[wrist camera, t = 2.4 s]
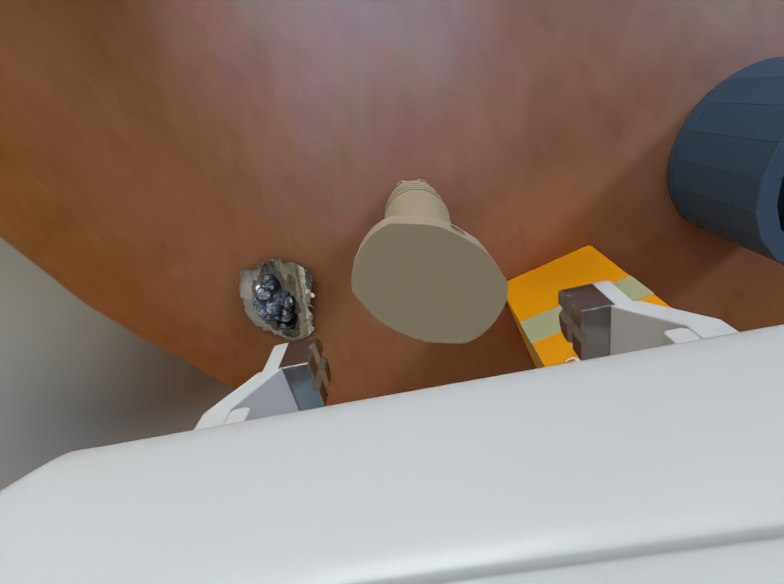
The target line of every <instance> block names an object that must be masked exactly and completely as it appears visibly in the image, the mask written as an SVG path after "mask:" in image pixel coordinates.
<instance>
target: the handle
mask: <svg viewBox="0 0 784 584" xmlns="http://www.w3.org/2000/svg"><path fill="white" fill-rule="evenodd" d="M351 284H352V290H353V293H354V294H355V296H356V297H357V298H358V299H359V300H360V301H361V302H362V304H363V305H364V306H365V307H366V308H367V309H368V310H369V311H370V312H371V314H372V315H373V316H374V317H376V318H377V319H378V320H379V321H380V322H381V323H383V324H385V325H386V326H388V327H390V328H392V329H394V330H396V331H399V332H401V333H403V334H405V335H408V336H410V337H412V338H415V339H418V340H421V341H426V342H433V343H467V342H469V341H472V340H474V339H475V338H477V337H479V336H480V335H482V334H483V333H484V332H485V331H486V330H488V329H489V328H490V326H491V325H492V324H493V323H494V322H495V321H496V319H497V318H498V316H499V315H500V313H501V311H502V310H503V307H504V305H505V303H506V300H507V294H508V282H507V280H506V279H505V277H504V276H503V274H502V272H501V271H500V269H499V268H498V266H497V265H496V263H495V262H494V261H493V259H492V258H491V256H490V255H489V254H488V252H487V251H486V249H485V248H484V247H483V246H482V245H481V243H480V242H479V241H478V240H477V239H476V238H474V237H473V236H471V235H470V234H468V233H467V232H465V231H463V230H462V229H460V228H458V227H457V226H455V225H453V224H451V220H450V216H449V212H448V210H447V207H446V205H445V203H444V202H443V200H442V198H441V197H440V196H439V194H438V193H437V192H436V191H435V190H434V189H433V188H432V187H431V186H429V184H428V183H427V182H426V181H425V180H422V179H418V180H412V181H404V180H402V181H400V182H399V183H397V186H396V188H395V189H394V190H393V192H392V193H391V195H390V196H389V199H388V201H387V204H386V208H385V215H384V220H382V221H381V222H379V223H378V224H376V225H375V226H374V227H373V228H372V229H371V230H370V231H369V232H368V234H367V235H366V236H365V238H364V240H363V241H362V243H361V245H360V247H359V249H358V252H357V254H356V256H355V260H354V265H353V269H352V274H351Z"/></svg>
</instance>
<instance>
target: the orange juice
mask: <svg viewBox="0 0 784 584" xmlns="http://www.w3.org/2000/svg"><path fill="white" fill-rule="evenodd" d="M604 280H607V281H610V282H611V283H612V284H613V285H614V286H616V287H617V288H618V289H619V290H620V291H622V292H623V293H624V294H625V295H626V296H628V297H629V298H630V299H631V300H632V301H643V302H647V303H651V304H656V305H660V306H664V307H669V308H671V307H670V306H668V305H667V304H666V303H665V302H663V301H662V300H661V299H659V298H658V297H657V296H656V295H655V294H654V293H653V292H652V291H651V290H649V289H648V288H647V287H645V286H644V285H643V284H641V283H640V282H639V281H638V280H636V279H635V278H634V277H632V276H630V275H628V274H627V273H626V272H624V271H623V270H622V269H621V268H619V267H618V266H617V265H615V264H614V263H613V262H611V261H610V260H609V259H608V258H606V257H605V256H604V255H602V254H601V253H600V252H598V251H597V250H596V249H595V248H593V247H592V246H591V245H588V246H585V247H583V248H581V249H579V250H576V251H574V252H572V253H570V254H567V255H565V256H563V257H561V258H558V259H556V260H554V261H552V262H549V263H547V264H545V265H543V266H540V267H538V268H536V269H534V270H531V271H529V272H527V273H525V274H522V275H520V276H518V277H516V278H513V279H511V280H509V281H507V282H508V294H507V300H506V302H507V304H508V306H509V309H510V311H511V313H512V315H513V318H514V320H515V322H516V324H517V327H518V329H519V331H520V333H521V336H522V338H523V340H524V342H525V345H526V347H527V349H528V351H529V354H530V356H531V358H532V360H533V363H534V364H535V366H536V368H537V369H538V368H543V367H549V366H554V365H560V364H565V363H571V362H576V361H581V360H580V358H579V357H578V356H577V354H576V353H575V352H574V350H573V344H572V343H570V342H567V340H566V339H565V338H564V336H563V334H562V331H561V327H560V323H559V314H560V312H561V311H562V309H563V308H562V307H561V306H560V304H559V303H558V293H559V291H560V290H564V289H568V288H573V287H577V286H582V285H587V284H591V283H596V282H600V281H604Z"/></svg>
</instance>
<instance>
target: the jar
mask: <svg viewBox="0 0 784 584" xmlns="http://www.w3.org/2000/svg"><path fill="white" fill-rule="evenodd" d="M668 186H669V192H670V195H671V198H672V201H673V203H674V205H675V207H676V208H677V210H678V211H679V212H680V214H681V215H682V216H683V217H684V218H685V219H687V220H688V221H689V222H691V223H692V224H694V225H696V226H698V227H701V228H703V229H705V230H707V231H709V232H711V233H713V234H715V235H717V236H720V237H722V238H724V239H726V240H729V241H731V242H733V243H735V244H738V245H740V246H742V247H745V248H747V249H749V250H751V251H754V252H756V253H758V254H760V255H763V256H765V257H767V258H770V259H772V260H774V261H776V262H778V263H781V264H783V265H784V56H783V57H777V58H771V59H767V60H764V61H761V62H757V63H755V64H753V65H750V66H748V67H746V68H744V69H742V70H740V71H738V72H736V73H735V74H733V75H731V76H730V77H728V78H727V79H726V80H724V81H723V82H721V83H720V84H719V85H718V86H716V87H715V88H714V89H713V90H712V91H711V92H709V93H708V94H707V95H706V96H705V98H704V99H703V100H702V101H701V102H700V103H699V104H698V105H697V106H696V108H695V109H694V110H693V111H692V113H691V114H690V115H689V117H688V118H687V120H686V121H685V123H684V125H683V126H682V128H681V130H680V132H679V134H678V136H677V138H676V141H675V143H674V146H673V148H672V152H671V156H670V159H669V166H668Z"/></svg>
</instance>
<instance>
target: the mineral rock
mask: <svg viewBox="0 0 784 584" xmlns="http://www.w3.org/2000/svg"><path fill="white" fill-rule="evenodd" d="M269 261H270V262H268V264H267V265H265V264H263V262H262V261H261V264H259V265H257V266H258V268H257V270H255V271H251V270H250V269H247V268H246V269H247V270H243V269H241V271H242V272H241V273H242V274H240V273H239V276H240V277H241V278H242V280H241V281H240V289H239V291H240V293H241V295H240V297H241V298H243V299H244V301H243V302H245V303H242V304H243V305H244V306H245V308H244V309H245V312H246V314H247V316H249V318H250V319H251V320H252V321H253V324H254V325H256V326H259V327H263V330H264V331H266V330H267V331H270V330H272V332H273V333H274V334H275V335H276V334H278V335H279V336H281V337H283V338H285V339H286V340H289V341H298V340H301V339H302V340H303V339H304V337H306V336H310V335H311V333H312V331H314V328H315V327H313V326H312V325H311V324H313V323H312V320H313V318H312V317H314V316H313V315H312V313H311V312H310V311H309V309H308V307H307V306H311V307H312V305H310V303H309V302H310V301H309V300H310V297H312V298H314V296H315V295H314V294H313V293H310V292H311V289H312V288H311V287H312V282H313V279H312V278H311V276H312V273H309V271H307V270H306V269H305V268H304V267H302V268H301V266H299V265H297V264H295V263H291V262H288V261H287V262H286V263H285V264H283V263H282V261H281V259H280V260H279V259H277V258H274V259H273V260H272V259H271V260H269ZM312 308H314V307H312ZM314 309H315V308H314Z"/></svg>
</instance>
